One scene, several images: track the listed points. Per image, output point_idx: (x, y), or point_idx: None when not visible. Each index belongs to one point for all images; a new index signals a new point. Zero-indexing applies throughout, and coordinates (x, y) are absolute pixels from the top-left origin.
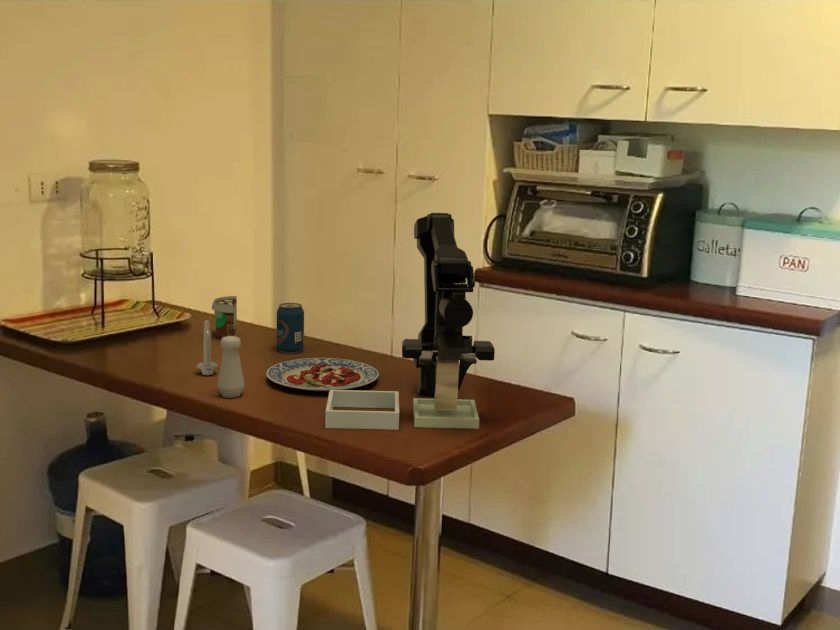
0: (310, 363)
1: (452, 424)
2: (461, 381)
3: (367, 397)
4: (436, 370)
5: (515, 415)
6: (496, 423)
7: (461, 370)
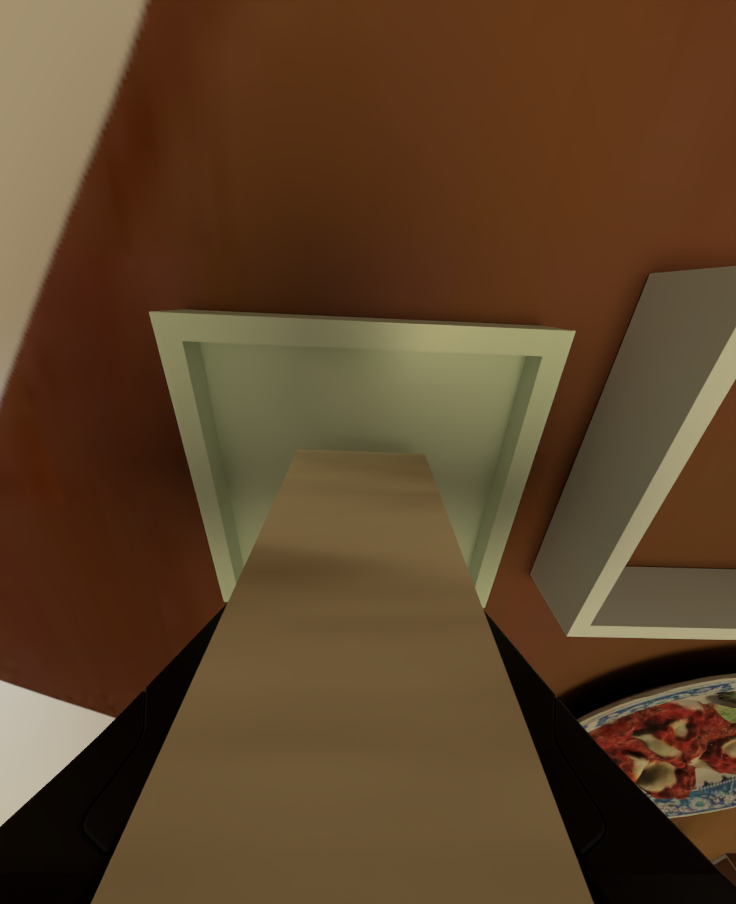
0: (668, 799)
1: (332, 317)
2: (207, 633)
3: (688, 603)
4: (531, 794)
5: (51, 508)
6: (108, 403)
7: (118, 806)
